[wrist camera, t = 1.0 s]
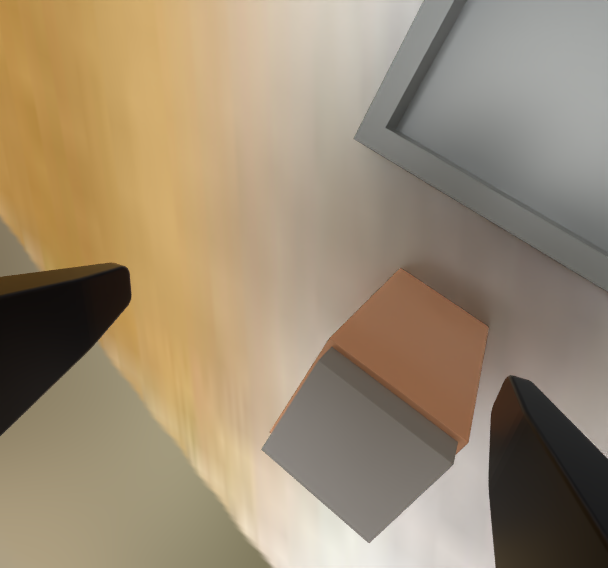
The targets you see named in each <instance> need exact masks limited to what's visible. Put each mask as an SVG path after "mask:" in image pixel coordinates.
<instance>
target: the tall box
mask: <svg viewBox="0 0 608 568" xmlns="http://www.w3.org/2000/svg"><path fill="white" fill-rule="evenodd" d="M488 330H489V327H488V326H487V325H485V324H484V323H482V322H481V321H479V320H478V319H476V318H475V317H473V316H472V315H471V314H469V313H468V312H466V311H465V310H463V309H462V308H460V307H459V306H457V305H456V304H454V303H453V302H451V301H450V300H448V299H447V298H445V297H444V296H442V295H441V294H439V293H438V292H436V291H435V290H433V289H432V288H430V287H429V286H427V285H426V284H424V283H423V282H421V281H420V280H418V279H417V278H415V277H414V276H412V275H411V274H409V273H408V272H406V271H405V270H403V269H402V268H400V269H399V270H398V271H397V272H396V273H395V274H394V275H393V276H392V277H391V278H390V279H389V280H388V281H387V282H386V283H385V284H384V285H383V286H382V287H381V288H380V289H379V290H378V291H376V292H375V293H374V294H373V295H372V296H371V297H370V298H369V299H368V300H367V301H366V302H365V303H364V304H363V305H362V306H361V307H360V308H359V309H358V310H357V311H356V312H355V313H354V314H353V315H352V316H351V317H350V318H349V319H348V320H347V321H346V322H345V323H344V324H343V325H342V326H341V327H340V328H339V329H338V330H337V331H336V332H335V333H334V334H333V335H332V336H331V337H330V338H329V340H328V341H327V343H326V344H325V346H324V348H323V349H322V351H321V352H320V354H319V355H318V357H317V359H316V360H315V362H314V363H313V365H312V366H311V368H310V370H309V371H308V373H307V374H306V376H305V377H304V379H303V380H302V382H301V384H300V385H299V387H298V388H297V390H296V391H295V393H294V395H293V396H292V398H291V399H290V401H289V402H288V404H287V406H286V407H285V409H284V410H283V412H282V413H281V415H280V416H279V418H278V420H277V421H276V423H275V424H274V426H273V427H272V429H271V431H270V433H271V435H270V436H269V438H268V439H267V441H266V443H265V444H264V446H263V447H262V449H261V450H262V451H264V452H265V453H266V454H267V455H268V456H269V457H270V458H272V459H273V460H274V461H275V462H276V463H277V464H278V465H280V466H281V467H282V468H283V469H284V470H285V471H287V472H288V473H289V474H290V475H291V476H292V477H293V478H295V479H296V480H297V481H298V482H299V483H300V484H301V485H303V486H304V487H305V488H306V489H307V490H308V491H309V492H311V493H312V494H313V495H314V496H315V497H316V498H318V499H319V500H320V501H321V502H322V503H323V504H324V505H326V506H327V507H328V508H329V509H330V510H331V511H332V512H334V513H335V514H336V515H337V516H338V517H339V518H340V519H342V520H343V521H344V522H345V523H346V524H347V525H349V526H350V527H351V528H352V529H353V530H354V531H355V532H357V533H358V534H359V535H360V536H361V537H362V538H363V539H365V540H366V541H367V542H368V543H370V542H371V541H372V540H373V539H374V538H375V537H376V536H377V535H378V534H380V533H381V532H382V531H383V530H384V529H385V528H386V527H387V526H388V525H389V524H390V523H391V522H392V521H394V520H395V519H396V518H397V517H398V516H399V515H400V514H401V513H402V512H403V511H404V510H405V509H406V508H407V507H409V506H410V505H411V504H412V503H413V502H414V501H415V500H416V499H417V498H418V497H419V496H420V495H421V494H422V493H424V492H425V491H426V490H427V489H428V488H429V487H430V486H431V485H432V484H433V483H434V482H435V481H436V480H437V479H439V478H440V477H441V476H442V475H443V474H444V473H445V472H446V471H447V470H448V469H449V468H450V467H451V466H452V465H453V464H454V459H455V455H456V454H457V453H458V452H459V451H460V450H461V449H462V448H463V447H464V446H465V445H466V444H468V442H469V436H470V431H471V425H472V419H473V414H474V408H475V403H476V397H477V391H478V386H479V380H480V374H481V369H482V363H483V358H484V352H485V346H486V341H487V335H488Z"/></svg>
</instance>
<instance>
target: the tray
mask: <svg viewBox="0 0 608 568" xmlns="http://www.w3.org/2000/svg"><path fill="white" fill-rule="evenodd" d="M354 139H355V140H356V141H358V142H360V143H361V144H363V145H365V146H366V147H368V148H370V149H371V150H373V151H375V152H376V153H378V154H380V155H381V156H383V157H385V158H386V159H388V160H390V161H391V162H393V163H395V164H396V165H398V166H400V167H401V168H403V169H405V170H406V171H408V172H409V173H411V174H413V175H414V176H416V177H418V178H419V179H421V180H423V181H424V182H426V183H428V184H429V185H431V186H433V187H434V188H436V189H438V190H439V191H441V192H443V193H444V194H446V195H448V196H449V197H451V198H453V199H454V200H456V201H458V202H459V203H461V204H463V205H464V206H466V207H468V208H469V209H471V210H473V211H474V212H476V213H477V214H479V215H481V216H482V217H484V218H486V219H487V220H489V221H491V222H492V223H494V224H496V225H497V226H499V227H501V228H502V229H504V230H506V231H507V232H509V233H511V234H512V235H514V236H516V237H517V238H519V239H521V240H522V241H524V242H526V243H527V244H529V245H531V246H532V247H534V248H536V249H537V250H539V251H540V252H542V253H544V254H545V255H547V256H549V257H550V258H552V259H554V260H555V261H557V262H559V263H560V264H562V265H564V266H565V267H567V268H569V269H570V270H572V271H574V272H575V273H577V274H579V275H580V276H582V277H584V278H585V279H587V280H589V281H590V282H592V283H594V284H595V285H597V286H599V287H600V288H602V289H604V290H605V291H607V292H608V0H424V1H423V3H422V5H421V7H420V9H419V11H418V13H417V15H416V17H415V19H414V21H413V23H412V25H411V27H410V29H409V31H408V33H407V35H406V37H405V39H404V41H403V42H402V44H401V46H400V48H399V50H398V52H397V54H396V56H395V58H394V60H393V62H392V64H391V66H390V68H389V70H388V72H387V74H386V76H385V78H384V80H383V82H382V84H381V86H380V88H379V90H378V92H377V94H376V96H375V98H374V99H373V101H372V103H371V105H370V107H369V109H368V111H367V113H366V115H365V117H364V119H363V121H362V123H361V125H360V127H359V129H358V131H357V133H356V135H355V137H354Z"/></svg>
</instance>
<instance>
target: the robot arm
mask: <svg viewBox="0 0 608 568" xmlns="http://www.w3.org/2000/svg"><path fill="white" fill-rule="evenodd" d="M130 301H131V283H130V273H129V270H128V268H127V267H125V266H123V265H119V264H116V263H104V264H96V265H89V266H81V267H73V268H65V269H58V270H50V271H42V272H35V273H27V274H20V275H12V276H4V277H0V436H1V435H2V434H3V433H4V432H5V431H6V430H7V429H8V428H9V427H10V426H11V425H12V424H13V423H14V422H16V421H17V420H18V418H19V417H21V415H23V414H24V413H25V412H26V411H27V410H28V409H29V408H30V407H31V406H32V405H33V404H34V403H35V402H36V401H37V400H38V399H39V398H40V397H41V396H42V395H44V394H45V393H46V392H47V391H48V390H49V389H50V388H51V387H52V386H53V385H54V384H55V383H56V382H57V381H58V380H59V379H60V378H61V377H62V376H63V375H64V374H65V373H66V372H67V371H68V370H69V369H71V367H73V366H74V365H75V363H77V362H78V361H79V360H80V359H81V358H82V357H83V356H84V355H85V354H86V353H87V352H88V351H89V350H90V349H91V348H92V347H93V346H94V345H95V343H96V342H97V341H98V340H99V339H100V338H101V337H102V335H103V334H104V333H105V332H106V331H107V330H108V328H109V327H110V326H111V325H112V324H113V323H114V321H115V320H116V319H117V318H118V317H119V315H120V314H121V313H122V312H123V311H124V310H125V308H126V307H127V306H128V305H129V303H130ZM489 499H490V510H491V521H492V533H493V544H494V555H495V566H496V568H608V459H607V458H606V457H605V456H604V455H603V454H602V453H601V452H600V451H599V450H598V448H597V447H596V446H595V445H594V444H593V443H592V442H591V441H590V440H589V439H588V438H587V437H586V436H585V435H584V434H583V433H582V432H581V431H580V430H579V429H578V428H577V427H576V426H575V425H574V424H573V423H572V422H571V421H570V420H569V419H568V418H567V417H566V416H565V415H564V414H563V413H562V412H561V411H560V410H559V409H558V408H557V407H556V406H555V405H554V404H553V403H552V402H551V401H550V400H549V399H548V398H547V397H546V396H545V395H544V394H543V393H542V392H541V391H540V390H539V389H538V388H537V387H536V386H535V385H534V384H533V383H532V382H531V381H529V380H527V379H523V378H519V377H516V376H512V375H510V376H508V377H507V378H506V379H505V381H504V383H503V385H502V387H501V389H500V391H499V394H498V396H497V398H496V400H495V402H494V405H493V408H492V412H491V426H490V452H489Z"/></svg>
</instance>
